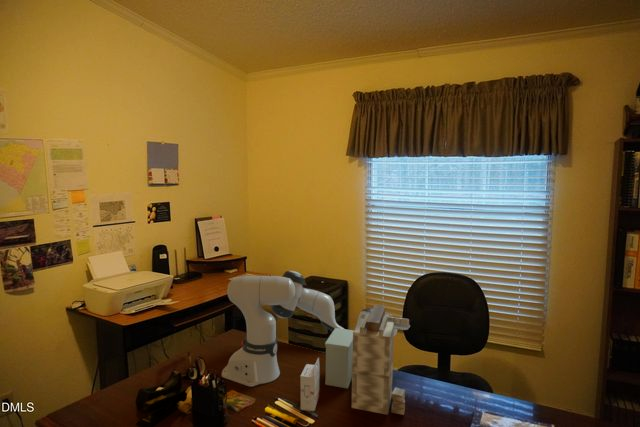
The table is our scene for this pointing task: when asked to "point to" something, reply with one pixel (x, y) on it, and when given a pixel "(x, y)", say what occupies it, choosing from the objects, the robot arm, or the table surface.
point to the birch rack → (372, 366)
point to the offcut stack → (398, 401)
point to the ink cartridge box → (310, 386)
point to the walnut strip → (376, 318)
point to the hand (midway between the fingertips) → (382, 318)
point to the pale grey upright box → (339, 358)
